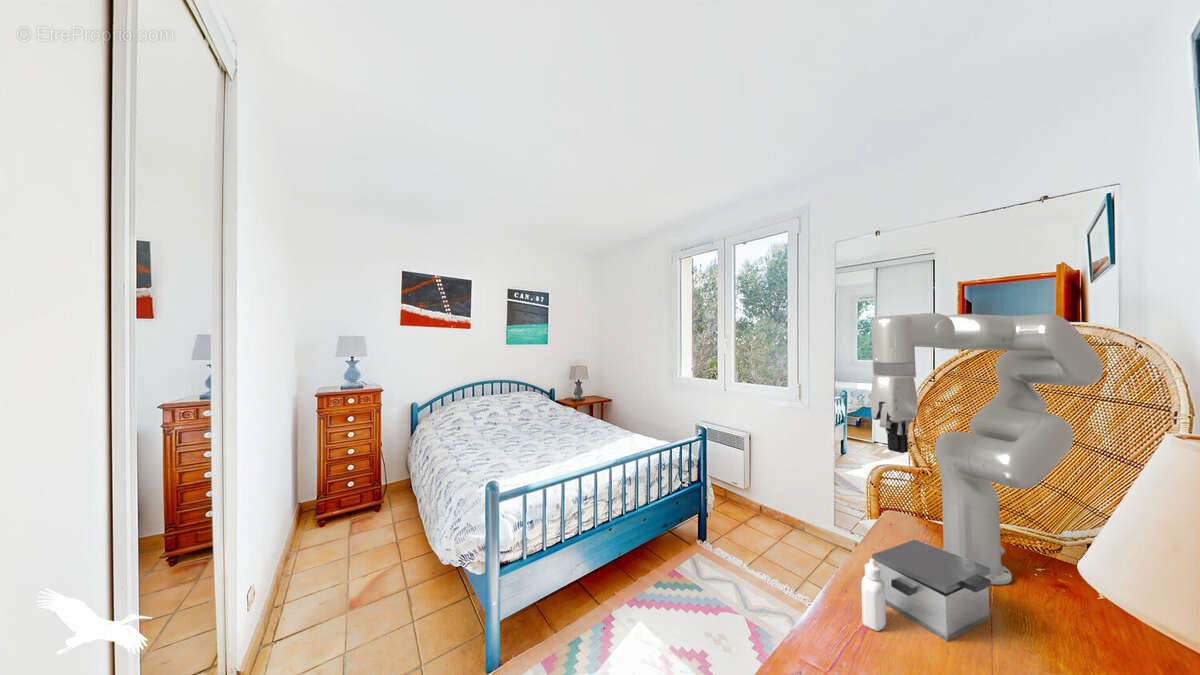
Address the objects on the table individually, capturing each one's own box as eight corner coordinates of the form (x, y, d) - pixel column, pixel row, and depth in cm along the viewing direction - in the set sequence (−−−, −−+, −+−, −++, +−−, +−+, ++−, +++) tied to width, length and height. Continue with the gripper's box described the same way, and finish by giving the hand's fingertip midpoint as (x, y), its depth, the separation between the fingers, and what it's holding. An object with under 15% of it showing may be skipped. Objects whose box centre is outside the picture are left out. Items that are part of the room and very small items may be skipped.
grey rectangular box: (923, 578, 83) (922, 543, 83) (996, 615, 72) (994, 574, 72) (868, 601, 76) (867, 562, 76) (938, 645, 65) (937, 600, 65)
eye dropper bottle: (897, 628, 69) (895, 564, 69) (872, 633, 68) (870, 568, 68) (875, 611, 74) (873, 551, 74) (851, 616, 72) (850, 554, 73)
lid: (915, 544, 83) (914, 539, 83) (1005, 578, 69) (1004, 573, 69) (872, 559, 77) (871, 554, 78) (960, 600, 64) (959, 594, 64)
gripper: (893, 367, 90) (897, 442, 90) (856, 371, 84) (860, 452, 83) (931, 368, 83) (935, 449, 83) (894, 373, 77) (898, 461, 77)
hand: (898, 450), depth 83 cm, fingers closed
